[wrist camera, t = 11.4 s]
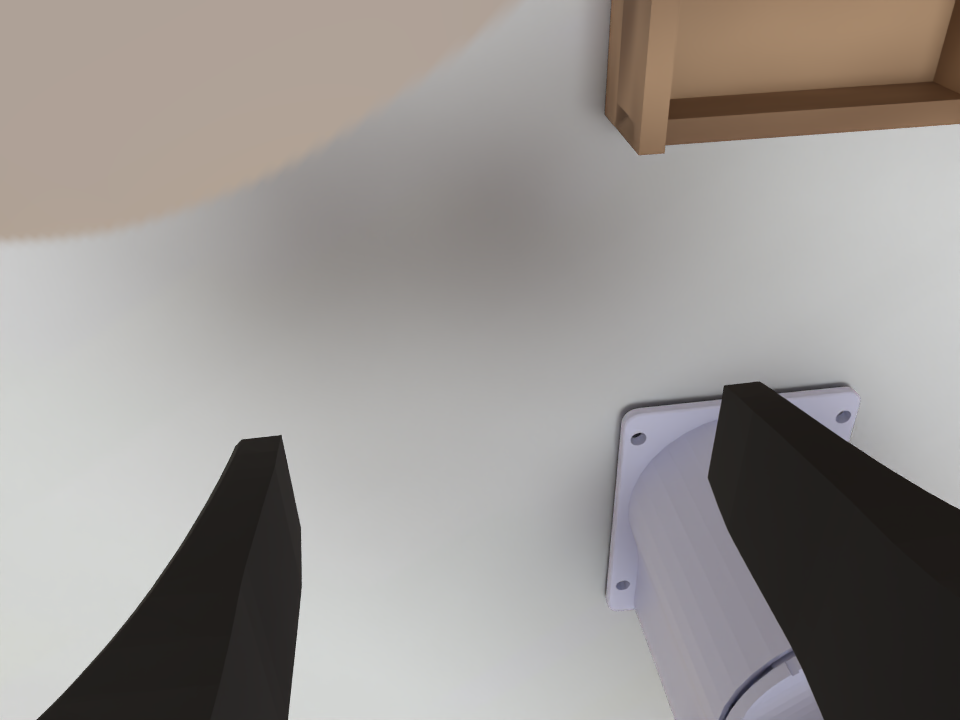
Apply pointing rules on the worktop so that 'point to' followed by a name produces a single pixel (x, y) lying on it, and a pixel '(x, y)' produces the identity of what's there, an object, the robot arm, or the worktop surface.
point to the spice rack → (779, 68)
